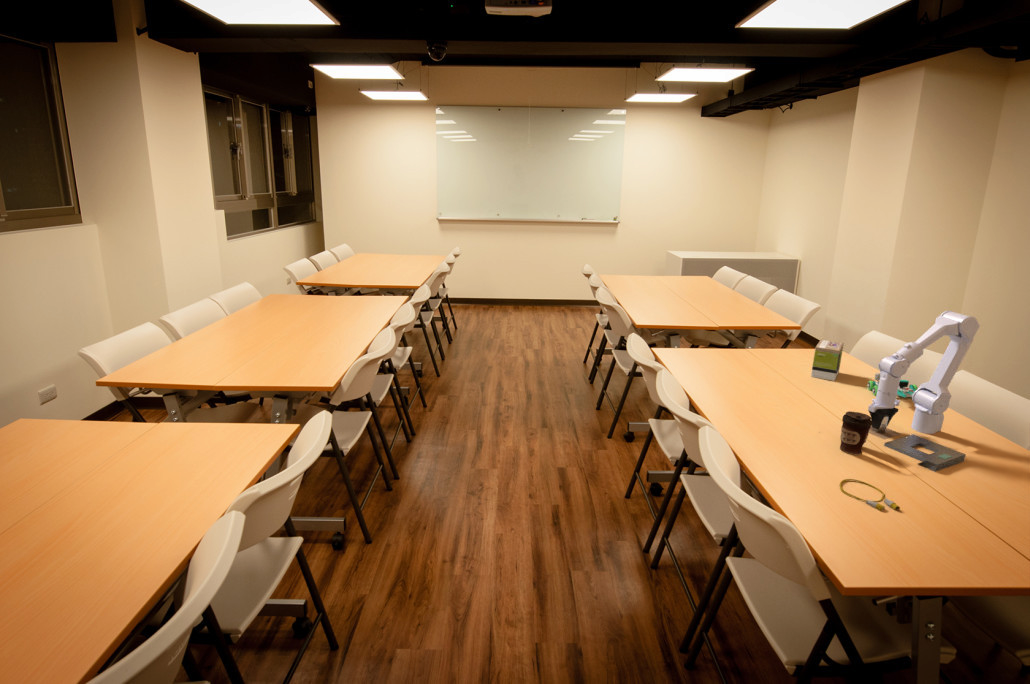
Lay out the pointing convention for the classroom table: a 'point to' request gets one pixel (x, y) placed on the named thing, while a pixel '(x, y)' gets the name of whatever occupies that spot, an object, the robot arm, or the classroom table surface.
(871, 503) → the yellow looped cable
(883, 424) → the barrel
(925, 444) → the plate
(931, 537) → the classroom table surface
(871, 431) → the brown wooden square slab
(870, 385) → the robot kit
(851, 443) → the coffee cup
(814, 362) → the tea box
